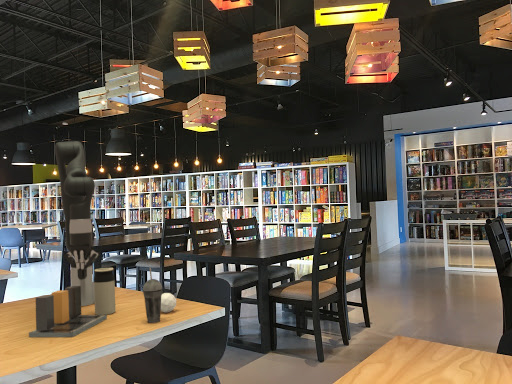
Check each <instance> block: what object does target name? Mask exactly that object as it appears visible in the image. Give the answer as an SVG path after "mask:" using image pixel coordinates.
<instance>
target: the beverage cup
mask: <svg viewBox="0 0 512 384" xmlns="http://www.w3.org/2000/svg"><path fill="white" fill-rule="evenodd" d="M152 274H153V273H152V267H149V276H150V278H149V279H148V280H146V282H145V283H144V285H143V287H142V294H143V297H144V306H145V307H144V308H145V313H146V320H147V321H146V322H147V323H148V324H154V323H155V324H156V323H159V322H161V312H162V311H161V295H162V294H163V286H162V283H161V282H160V281H159V280H158V279H156V278H153V277H152V276H153V275H152Z"/></svg>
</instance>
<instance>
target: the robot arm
mask: <svg viewBox="0 0 512 384" xmlns="http://www.w3.org/2000/svg"><path fill="white" fill-rule="evenodd" d="M84 149H85V148H84V146H83V143H82V142H81V141H77V140H70V141H59V142H56V143H55V146H54V152H55V158H56V165H57V171H58V175H59V184H60V196H61V202H62V203H61V204H62V209H63V210H62V212H63V217H64V225H65V226H64V227H65V229H64V230H65V245H66V249H67V251H68V252H67V253H65V254H64V255H63V257H64V259H66V260H67V263H69V265H70V286H81V307H86V306H90V305H92V304H95V299H94V277H93V274H94V273H93V265H94V263H95V262H96V260H97V259H98V257H99V256H100V252H96V251H95V250H94V247H93V225H92V219H91V217H92V215H91V209H92V207H91V205H92V200H93V196H94V193H95V188H96V182H95V179H93V178H92V177H90V176H88V174H87V170H86V168H85V167H86V166H85V165H86V164H85V163H86V157H85V156H86V155H85V150H84ZM66 165H67V166H66Z"/></svg>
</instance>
